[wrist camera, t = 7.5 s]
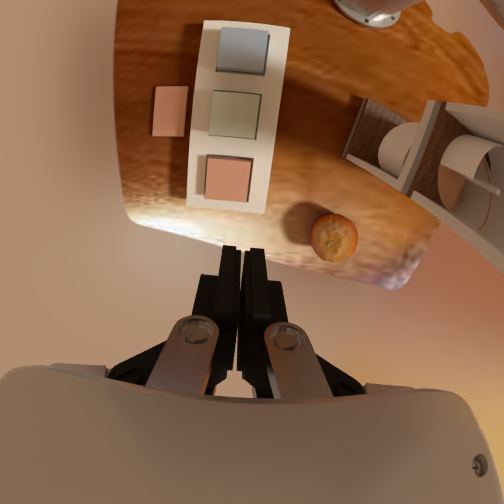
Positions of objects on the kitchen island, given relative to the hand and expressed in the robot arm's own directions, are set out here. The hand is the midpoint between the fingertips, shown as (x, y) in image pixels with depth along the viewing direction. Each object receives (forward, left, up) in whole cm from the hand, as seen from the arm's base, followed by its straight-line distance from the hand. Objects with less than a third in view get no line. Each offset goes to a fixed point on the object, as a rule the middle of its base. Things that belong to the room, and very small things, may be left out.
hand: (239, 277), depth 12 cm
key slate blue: (-16, -2, -30) cm, 34 cm away
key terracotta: (+4, -2, -32) cm, 32 cm away
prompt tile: (-6, -12, -33) cm, 36 cm away
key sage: (-6, -2, -30) cm, 31 cm away
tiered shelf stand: (-6, +22, -33) cm, 40 cm away
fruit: (+11, +16, -33) cm, 39 cm away
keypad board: (-6, -2, -33) cm, 34 cm away
